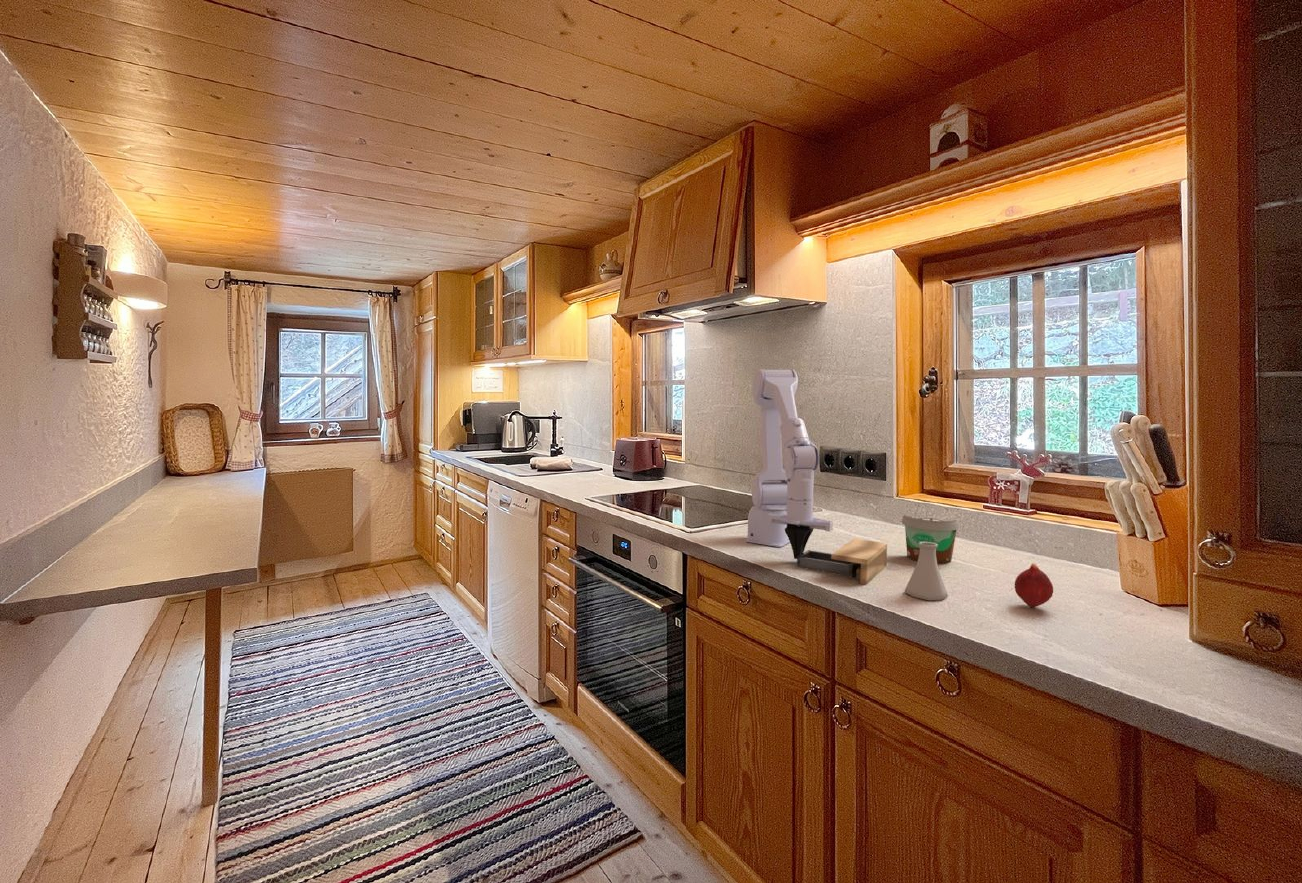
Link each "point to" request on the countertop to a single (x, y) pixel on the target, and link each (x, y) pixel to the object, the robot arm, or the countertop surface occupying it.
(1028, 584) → the onion
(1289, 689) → the countertop surface
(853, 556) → the pine shelf
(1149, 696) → the countertop surface
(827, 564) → the dark grey drawer
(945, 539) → the food container
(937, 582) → the flask
